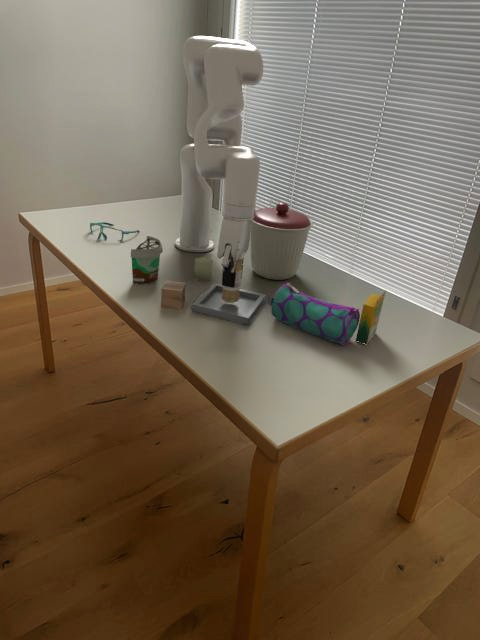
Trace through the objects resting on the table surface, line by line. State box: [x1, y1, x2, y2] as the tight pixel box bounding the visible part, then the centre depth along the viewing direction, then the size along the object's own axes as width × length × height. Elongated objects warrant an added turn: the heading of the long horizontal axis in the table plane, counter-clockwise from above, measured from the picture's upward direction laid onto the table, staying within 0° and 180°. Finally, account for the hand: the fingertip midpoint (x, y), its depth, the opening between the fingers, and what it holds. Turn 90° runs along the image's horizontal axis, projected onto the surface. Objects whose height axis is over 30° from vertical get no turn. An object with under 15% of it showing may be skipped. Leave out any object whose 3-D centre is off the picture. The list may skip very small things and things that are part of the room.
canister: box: [250, 202, 314, 281], centre depth 143 cm, size 18×18×21 cm
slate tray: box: [191, 282, 267, 326], centre depth 125 cm, size 14×14×2 cm
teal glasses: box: [89, 221, 140, 242], centre depth 164 cm, size 14×15×5 cm
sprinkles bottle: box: [222, 252, 245, 303], centre depth 122 cm, size 5×5×13 cm
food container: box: [130, 235, 164, 285], centre depth 134 cm, size 12×6×10 cm, turn 168°
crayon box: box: [355, 289, 387, 345], centre depth 116 cm, size 7×3×12 cm, turn 150°
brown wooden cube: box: [160, 280, 187, 310], centre depth 123 cm, size 5×5×5 cm
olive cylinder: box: [193, 256, 214, 282], centre depth 139 cm, size 5×5×5 cm
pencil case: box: [266, 282, 361, 346], centre depth 117 cm, size 21×9×10 cm, turn 54°
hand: (231, 281), depth 123 cm, fingers closed on sprinkles bottle, 4 cm apart
